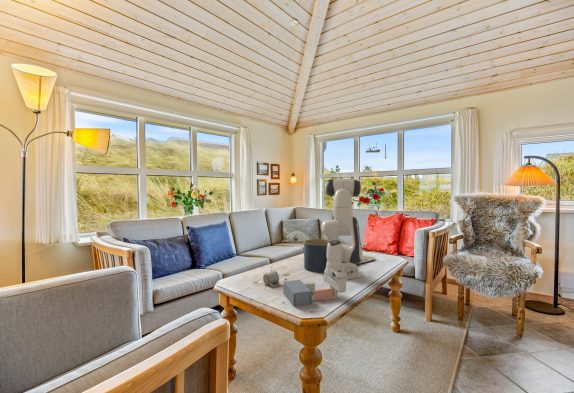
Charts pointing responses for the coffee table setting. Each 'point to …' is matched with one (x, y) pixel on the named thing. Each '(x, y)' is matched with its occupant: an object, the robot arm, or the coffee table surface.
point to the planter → (315, 255)
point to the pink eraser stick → (324, 293)
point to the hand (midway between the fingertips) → (334, 294)
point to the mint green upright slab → (310, 286)
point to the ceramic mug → (271, 278)
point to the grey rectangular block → (297, 292)
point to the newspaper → (366, 259)
